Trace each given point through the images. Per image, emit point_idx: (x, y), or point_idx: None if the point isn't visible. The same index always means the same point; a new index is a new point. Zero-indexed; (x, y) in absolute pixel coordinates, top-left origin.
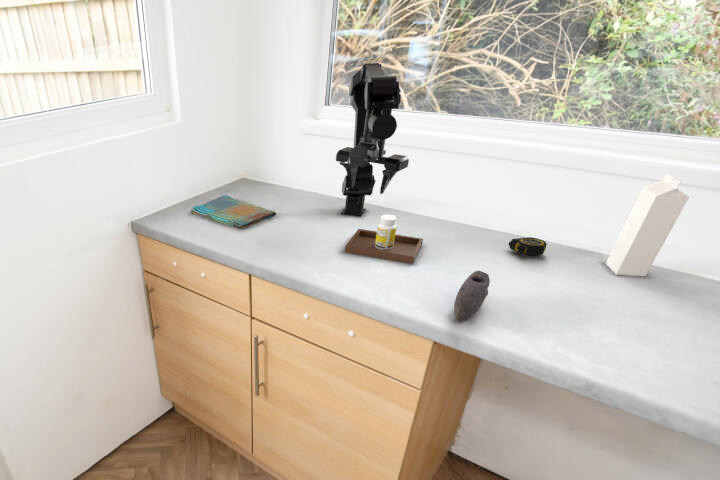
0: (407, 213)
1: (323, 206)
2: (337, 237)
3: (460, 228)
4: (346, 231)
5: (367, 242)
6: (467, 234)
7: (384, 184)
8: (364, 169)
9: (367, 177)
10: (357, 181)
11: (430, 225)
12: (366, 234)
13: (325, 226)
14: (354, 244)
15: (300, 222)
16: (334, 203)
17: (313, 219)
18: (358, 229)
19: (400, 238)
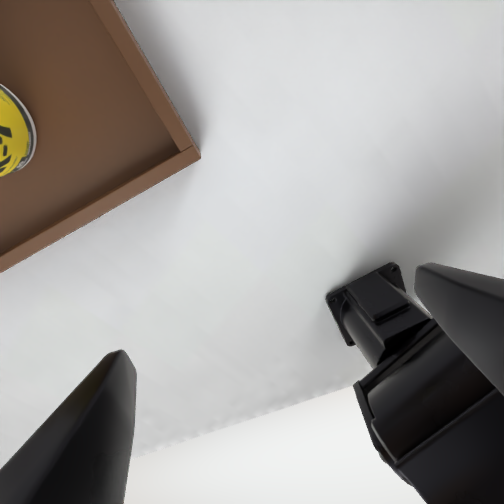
0: (244, 413)
1: (480, 263)
2: (243, 49)
3: None
4: (267, 150)
5: (81, 104)
6: (9, 444)
7: (12, 459)
8: (493, 499)
9: (422, 452)
10: (451, 392)
11: None
12: (154, 165)
13: (370, 115)
14: (90, 13)
15: (488, 51)
16: None
17: (454, 135)
18: (193, 149)
19: (16, 245)
